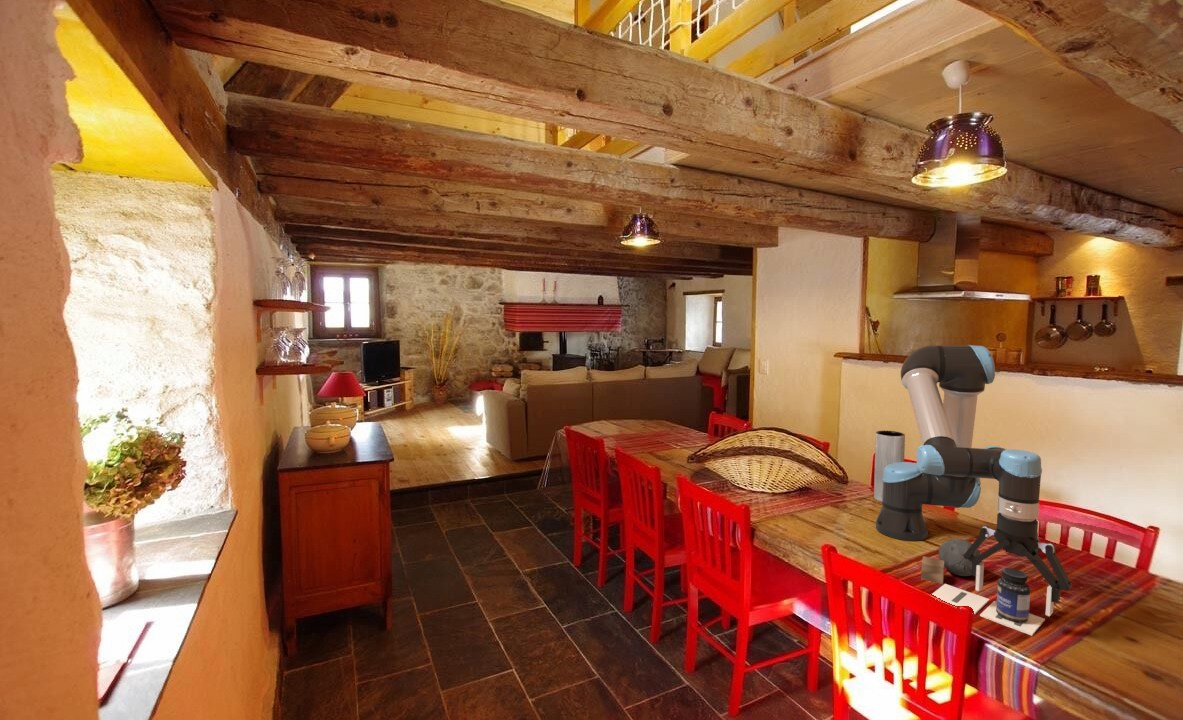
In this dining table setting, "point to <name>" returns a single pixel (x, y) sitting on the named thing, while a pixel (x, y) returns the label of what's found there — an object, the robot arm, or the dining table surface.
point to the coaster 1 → (960, 597)
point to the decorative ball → (956, 556)
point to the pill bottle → (1013, 596)
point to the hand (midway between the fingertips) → (1012, 601)
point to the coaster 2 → (1024, 627)
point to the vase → (886, 456)
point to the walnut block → (932, 570)
